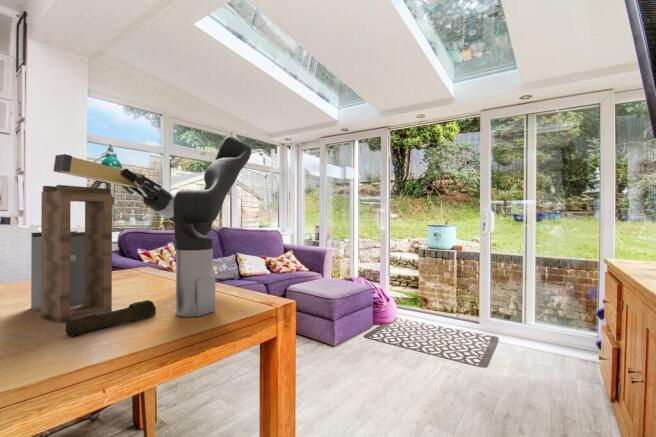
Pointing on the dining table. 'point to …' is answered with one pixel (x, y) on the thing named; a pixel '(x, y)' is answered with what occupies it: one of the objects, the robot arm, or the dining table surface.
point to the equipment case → (75, 269)
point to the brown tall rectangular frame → (58, 252)
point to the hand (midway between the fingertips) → (118, 171)
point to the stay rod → (91, 170)
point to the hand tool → (111, 318)
